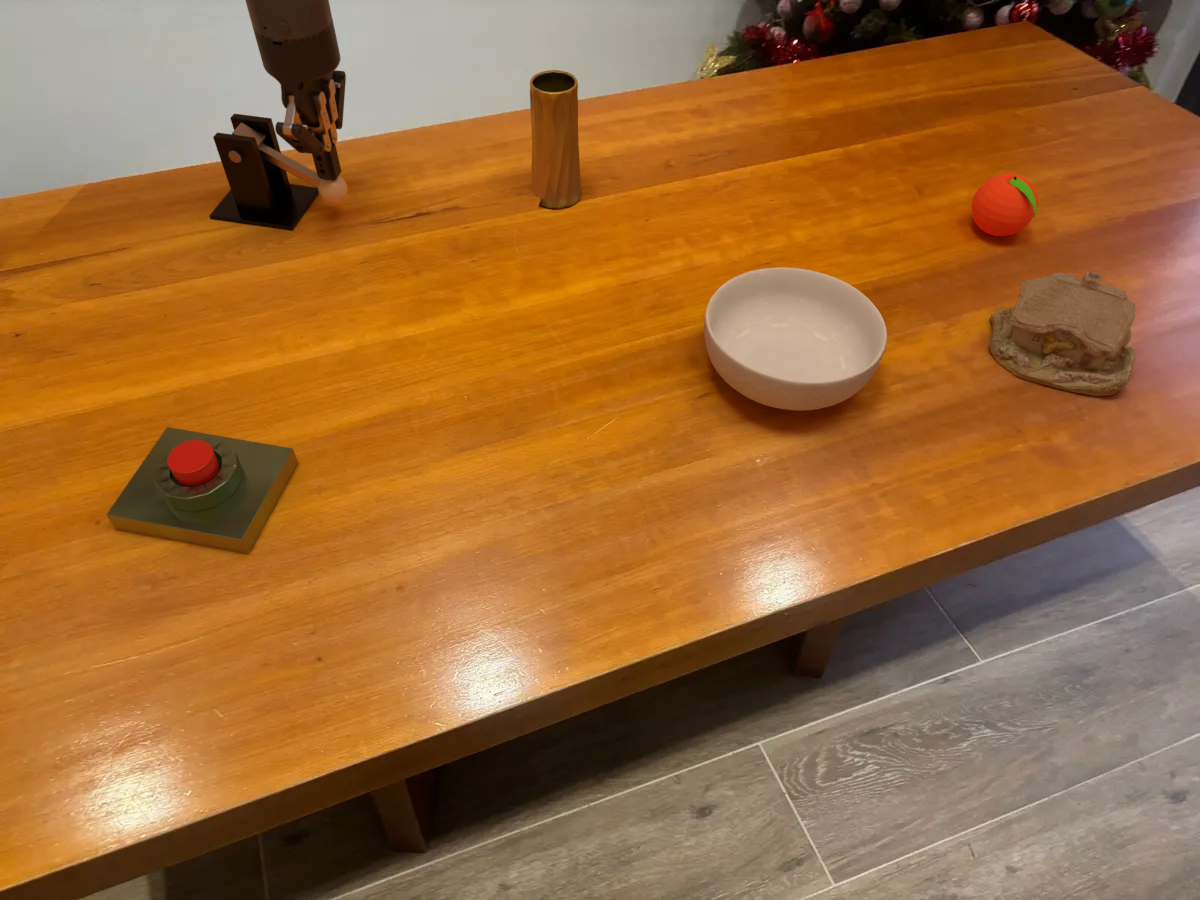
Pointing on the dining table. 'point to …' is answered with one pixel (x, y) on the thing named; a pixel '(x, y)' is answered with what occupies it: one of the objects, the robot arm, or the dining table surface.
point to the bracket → (258, 181)
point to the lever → (297, 168)
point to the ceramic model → (1067, 334)
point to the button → (193, 463)
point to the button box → (206, 493)
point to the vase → (555, 138)
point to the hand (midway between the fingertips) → (330, 176)
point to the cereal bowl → (793, 337)
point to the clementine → (1004, 205)
